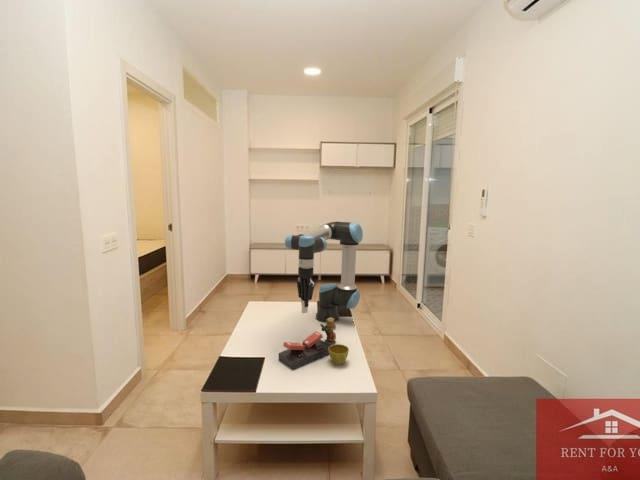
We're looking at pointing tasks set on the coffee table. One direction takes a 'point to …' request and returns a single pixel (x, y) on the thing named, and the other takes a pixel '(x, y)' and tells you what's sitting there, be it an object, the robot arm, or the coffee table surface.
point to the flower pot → (338, 353)
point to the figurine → (329, 331)
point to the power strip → (304, 355)
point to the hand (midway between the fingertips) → (304, 312)
